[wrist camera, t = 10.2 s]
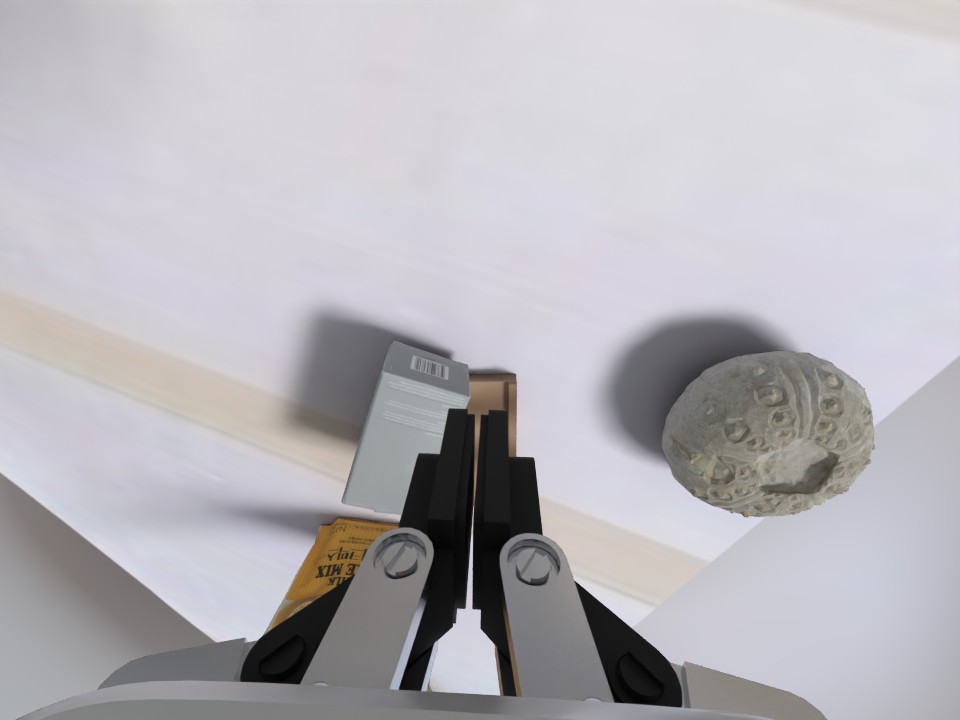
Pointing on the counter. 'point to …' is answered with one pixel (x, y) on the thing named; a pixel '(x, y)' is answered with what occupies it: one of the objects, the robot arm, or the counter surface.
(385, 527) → the pancake mix bag
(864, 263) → the counter surface
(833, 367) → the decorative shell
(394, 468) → the skincare box
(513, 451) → the light brown wooden tray
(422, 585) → the robot arm
